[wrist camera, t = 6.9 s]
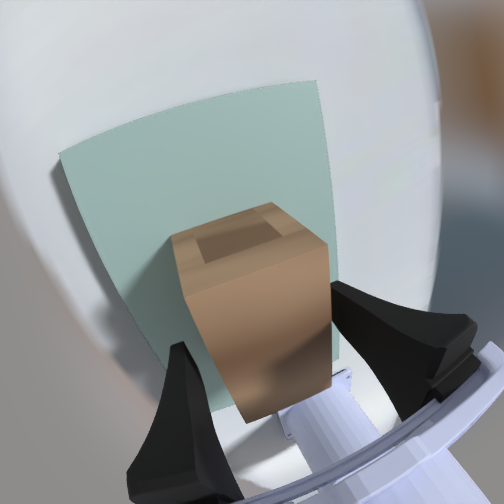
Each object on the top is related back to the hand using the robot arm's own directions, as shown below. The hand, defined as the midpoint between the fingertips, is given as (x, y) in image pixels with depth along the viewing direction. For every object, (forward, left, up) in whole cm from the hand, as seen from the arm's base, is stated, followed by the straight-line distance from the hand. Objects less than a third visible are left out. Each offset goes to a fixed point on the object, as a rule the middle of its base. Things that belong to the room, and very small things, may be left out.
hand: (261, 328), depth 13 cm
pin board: (0, 0, -4) cm, 4 cm away
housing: (0, 0, -3) cm, 3 cm away
